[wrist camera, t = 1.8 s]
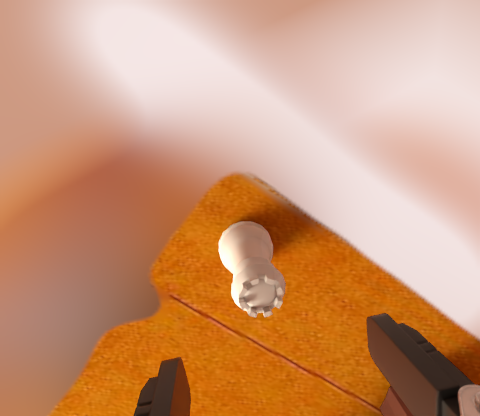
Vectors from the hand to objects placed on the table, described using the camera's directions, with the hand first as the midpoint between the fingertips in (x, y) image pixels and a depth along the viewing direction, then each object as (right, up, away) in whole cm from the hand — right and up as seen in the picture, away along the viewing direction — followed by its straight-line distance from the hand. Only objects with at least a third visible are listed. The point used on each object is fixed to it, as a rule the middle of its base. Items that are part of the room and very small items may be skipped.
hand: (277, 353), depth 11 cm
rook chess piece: (-1, +3, +12) cm, 12 cm away
